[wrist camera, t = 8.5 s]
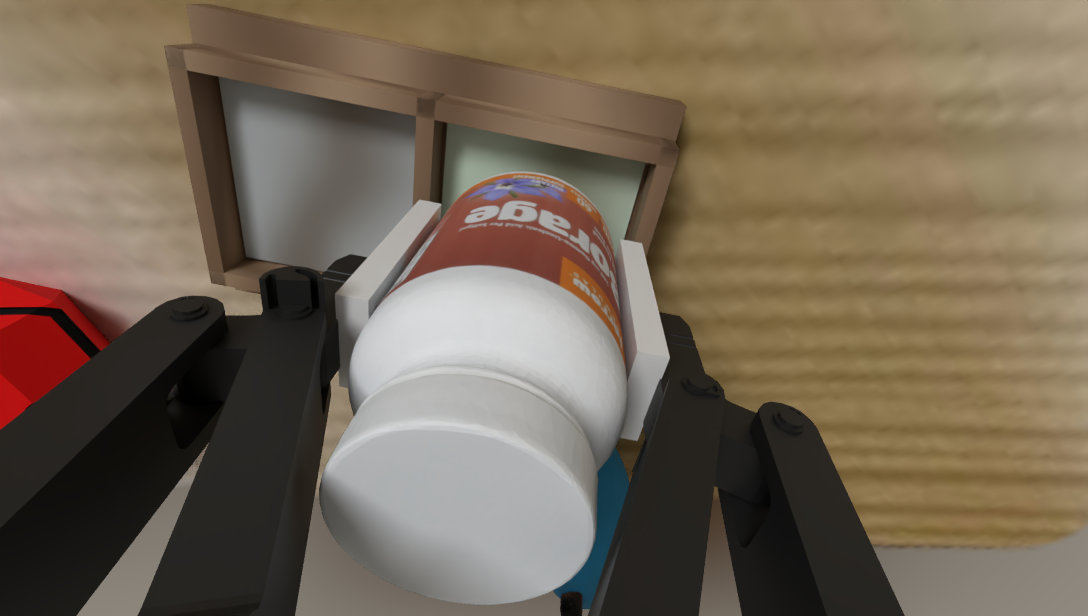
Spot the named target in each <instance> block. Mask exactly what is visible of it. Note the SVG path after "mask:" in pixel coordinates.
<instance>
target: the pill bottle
mask: <svg viewBox="0 0 1088 616" xmlns="http://www.w3.org/2000/svg"><path fill="white" fill-rule="evenodd" d="M348 389H349V398H350V403H351V407H352V411H353V415H354V418H353V419H352V421H351V422H350V424H349V426H348V427H347V429H346V430H345V432H344V434H343V435H342V437H341V439H340V441H339V443H338V445H337V447H336V449H335V450H334V452H333V454H332V456H331V457H330V459H329V461H328V463H327V465H326V467H325V470H324V472H323V474H322V478H321V483H320V488H319V495H320V506H321V510H322V514H323V518H324V520H325V523H326V524H327V526H328V528H329V530H330V532H331V534H332V535H333V537H334V539H335V540H336V542H337V543H338V544H339V545H340V546H341V547H342V549H343V550H344V551H345V552H346V553H347V554H348V555H349V556H351V557H352V558H353V559H354V560H355V561H357V562H358V563H359V564H360V565H362V566H363V567H364V568H366V569H367V570H369V571H370V572H372V573H373V574H375V575H377V576H378V577H380V578H381V579H383V580H385V581H388V582H390V583H392V584H394V585H396V586H398V587H400V588H402V589H405V590H408V591H411V592H414V593H417V594H419V595H423V596H427V597H430V598H434V599H438V600H443V601H449V602H456V603H464V604H477V605H495V604H505V603H512V602H519V601H524V600H528V599H532V598H535V597H538V596H540V595H543V594H546V593H548V592H550V591H552V590H554V589H556V588H558V587H560V586H562V585H563V584H565V583H566V582H568V581H569V580H571V579H572V578H573V577H574V576H575V575H576V574H577V573H578V572H579V571H580V569H581V568H582V567H583V566H584V564H585V563H586V561H587V560H588V558H589V556H590V554H591V552H592V549H593V546H594V542H595V539H596V531H597V490H598V474H597V471H598V470H599V469H600V468H601V467H602V466H603V464H604V463H605V462H606V461H607V460H608V459H609V457H610V455H611V454H612V452H613V450H614V449H615V447H616V445H617V443H618V441H619V439H620V436H621V434H622V431H623V427H624V423H625V418H626V412H627V398H628V397H627V376H626V365H625V355H624V346H623V337H622V328H621V319H620V309H619V300H618V287H617V278H616V266H615V256H614V248H613V243H612V238H611V235H610V232H609V229H608V226H607V224H606V222H605V220H604V218H603V216H602V215H601V213H600V211H599V210H598V209H597V207H596V206H595V205H594V204H593V202H592V201H591V200H590V199H589V198H588V197H587V196H586V195H585V194H583V193H582V192H581V191H580V190H578V189H577V188H575V187H574V186H572V185H571V184H569V183H567V182H565V181H563V180H561V179H559V178H556V177H553V176H550V175H546V174H543V173H536V172H507V173H502V174H498V175H494V176H491V177H488V178H486V179H484V180H482V181H480V182H478V183H476V184H475V185H473V186H472V187H470V188H469V189H467V190H466V191H465V192H464V193H463V194H462V195H461V196H460V197H459V198H458V199H457V200H456V201H455V202H454V203H453V204H452V206H451V207H450V208H449V209H448V211H447V212H446V214H445V215H444V216H443V218H442V219H441V220H440V222H439V223H438V225H437V226H436V227H435V229H434V230H433V232H432V233H431V234H430V236H429V237H428V238H427V240H426V241H425V242H424V244H423V245H422V247H421V248H420V249H419V251H418V252H417V254H416V255H415V256H414V258H413V259H412V260H411V262H410V263H409V264H408V266H407V267H406V269H405V270H404V272H403V273H402V274H401V276H400V277H399V278H398V280H397V281H396V283H395V284H394V285H393V287H392V288H391V289H390V291H389V292H388V293H387V295H386V296H385V297H384V298H383V300H382V301H381V303H380V304H379V306H378V307H377V308H376V310H375V311H374V313H373V314H372V315H371V317H370V319H369V320H368V322H367V323H366V325H365V327H364V328H363V330H362V332H361V333H360V335H359V337H358V339H357V342H356V344H355V346H354V349H353V353H352V356H351V360H350V365H349V372H348Z"/></svg>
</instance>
